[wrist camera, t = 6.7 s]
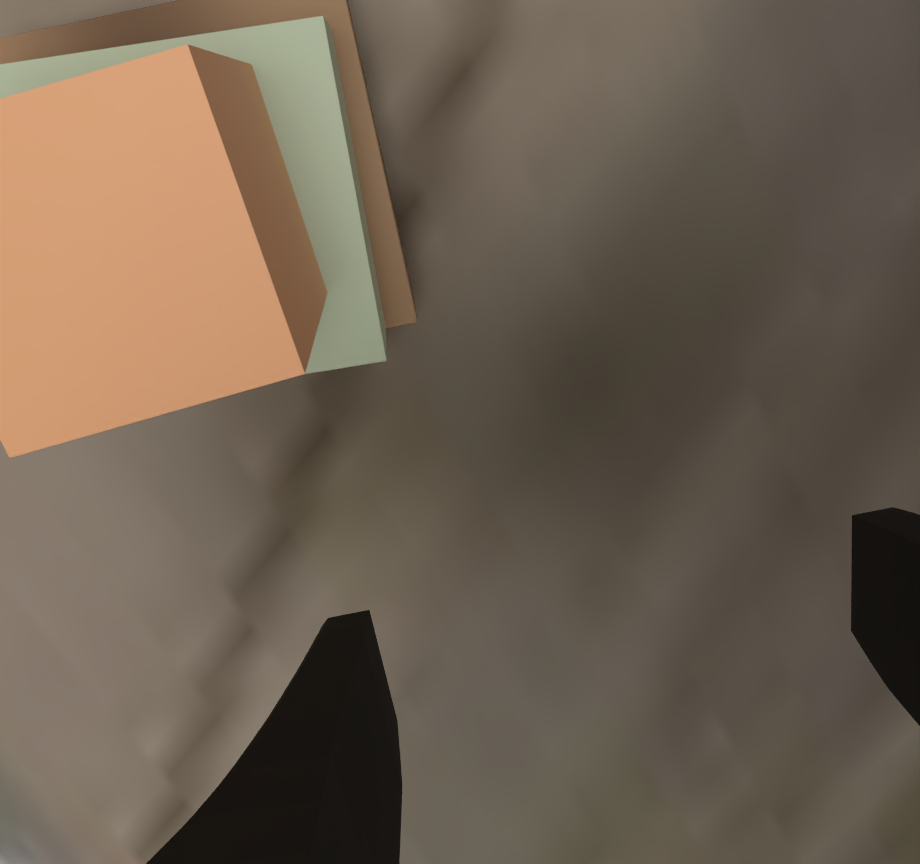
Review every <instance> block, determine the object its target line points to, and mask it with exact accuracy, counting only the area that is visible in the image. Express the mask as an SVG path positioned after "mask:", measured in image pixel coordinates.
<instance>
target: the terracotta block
mask: <svg viewBox="0 0 920 864" xmlns="http://www.w3.org/2000/svg"><path fill="white" fill-rule="evenodd" d="M327 293H328V292H327V289H326V286H325V283H324V280H323V277H322V274H321V271H320V268H319V265H318V262H317V259H316V256H315V253H314V250H313V247H312V244H311V241H310V238H309V235H308V232H307V229H306V226H305V223H304V220H303V217H302V214H301V211H300V208H299V205H298V202H297V199H296V196H295V193H294V190H293V187H292V184H291V181H290V178H289V175H288V172H287V169H286V166H285V163H284V160H283V157H282V154H281V151H280V148H279V145H278V142H277V139H276V136H275V133H274V130H273V127H272V124H271V121H270V118H269V115H268V112H267V109H266V106H265V103H264V100H263V97H262V94H261V91H260V88H259V85H258V82H257V79H256V76H255V73H254V70H253V66H252V64H249V63H246V62H242V61H239V60H236V59H233V58H230V57H227V56H223V55H220V54H217V53H214V52H211V51H207V50H204V49H201V48H198V47H195V46H192V45H188V44H187V45H183V46H180V47H176V48H173V49H169V50H166V51H162V52H159V53H156V54H152V55H149V56H145V57H142V58H138V59H135V60H131V61H128V62H125V63H121V64H118V65H114V66H111V67H107V68H104V69H100V70H97V71H94V72H90V73H87V74H83V75H80V76H76V77H73V78H69V79H66V80H63V81H59V82H56V83H52V84H49V85H45V86H42V87H38V88H35V89H32V90H28V91H25V92H21V93H18V94H14V95H11V96H7V97H4V98H1V99H0V440H1V442H2V444H3V446H4V448H5V450H6V452H7V454H8V455H9V457H14V456H18V455H21V454H25V453H28V452H32V451H35V450H39V449H42V448H46V447H49V446H53V445H56V444H60V443H63V442H67V441H70V440H74V439H77V438H81V437H84V436H88V435H92V434H95V433H99V432H102V431H106V430H109V429H113V428H116V427H120V426H123V425H127V424H130V423H134V422H137V421H141V420H144V419H148V418H151V417H155V416H158V415H162V414H166V413H169V412H173V411H176V410H180V409H183V408H187V407H190V406H194V405H197V404H201V403H204V402H208V401H211V400H215V399H218V398H222V397H225V396H229V395H232V394H236V393H240V392H243V391H247V390H250V389H254V388H257V387H261V386H264V385H268V384H271V383H275V382H278V381H282V380H285V379H289V378H292V377H296V376H299V375H303V374H305V372H306V369H307V365H308V361H309V358H310V354H311V351H312V347H313V343H314V340H315V336H316V333H317V329H318V326H319V322H320V318H321V315H322V311H323V308H324V304H325V301H326V297H327Z"/></svg>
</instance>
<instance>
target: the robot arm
mask: <svg viewBox="0 0 920 864" xmlns="http://www.w3.org/2000/svg"><path fill="white" fill-rule="evenodd" d="M851 631H852V633H853V634H854V636H855V638H856V639H857V641H858V643H859V644H860V646H861V647H862V649H863V651H864V652H865V654H866V655H867V657H868V659H869V660H870V662H871V663H872V665H873V666H874V668H875V669H876V671H877V672H878V674H879V675H880V677H881V678H882V680H883V681H884V683H885V684H886V686H887V687H888V689H889V690H890V691H891V692H892V693H893V695H894V696H895V697H896V698H897V700H898V701H899V702H900V703H901V704H902V706H903V707H904V708H905V709H906V710H907V711H908V713H909V714H910V715H911V716H912V717H913V719H914V720H915V721H916V722H917V723H918V724H919V726H920V515H918V514H915V513H912V512H908V511H905V510H901V509H897V508H893V507H892V508H887V509H882V510H877V511H872V512H867V513H862V514H857V515H852V592H851ZM401 806H402V775H401V761H400V748H399V736H398V724H397V718H396V714H395V710H394V706H393V702H392V698H391V694H390V690H389V686H388V682H387V678H386V674H385V670H384V666H383V662H382V659H381V655H380V651H379V647H378V643H377V639H376V635H375V631H374V627H373V623H372V619H371V615H370V611H369V610H367V611H361V612H356V613H351V614H346V615H341V616H336V617H331V618H328V619H327V620H326V622H325V623H324V624H323V626H322V627H321V629H320V631H319V633H318V635H317V636H316V638H315V640H314V642H313V644H312V645H311V647H310V649H309V651H308V653H307V654H306V656H305V658H304V660H303V661H302V663H301V665H300V666H299V668H298V670H297V672H296V673H295V675H294V677H293V678H292V680H291V682H290V683H289V685H288V687H287V688H286V690H285V691H284V693H283V695H282V696H281V698H280V699H279V701H278V703H277V704H276V706H275V707H274V709H273V711H272V712H271V714H270V715H269V717H268V718H267V720H266V721H265V723H264V724H263V726H262V727H261V729H260V730H259V731H258V733H257V734H256V736H255V737H254V738H253V740H252V741H251V743H250V744H249V746H248V747H247V748H246V750H245V751H244V753H243V754H242V755H241V757H240V758H239V760H238V761H237V762H236V764H235V765H234V766H233V768H232V769H231V770H230V772H229V773H228V774H227V776H226V777H225V778H224V779H223V781H222V782H221V783H220V785H219V786H218V787H217V788H216V789H215V791H214V792H213V793H212V794H211V795H210V797H209V798H208V799H207V800H206V801H205V802H204V803H203V805H202V806H201V807H200V808H199V809H198V810H197V812H196V813H195V814H194V815H193V816H192V817H191V818H190V819H189V821H188V822H187V823H186V824H185V825H184V826H183V827H182V828H181V829H180V830H179V831H178V832H177V833H176V834H175V835H174V836H173V837H172V838H171V839H170V840H169V841H168V842H167V843H166V844H165V845H164V846H163V847H162V848H161V849H160V850H159V851H158V852H157V853H156V854H155V855H154V856H153V857H152V858H151V859H150V860H149V861H148V862H147V863H146V864H399V856H400V832H401Z"/></svg>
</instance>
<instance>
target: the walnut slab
mask: <svg viewBox="0 0 920 864" xmlns="http://www.w3.org/2000/svg"><path fill="white" fill-rule="evenodd" d="M318 16H324V18H325V19H326V21H327V22H328V24H329V25H330V27H331V28H332V33H333V38H334V44H335V49H336V55H337V60H338V66H339V71H340V77H341V83H342V88H343V94H344V99H345V105H346V110H347V116H348V121H349V127H350V132H351V138H352V143H353V149H354V154H355V160H356V165H357V171H358V176H359V182H360V187H361V193H362V198H363V204H364V209H365V215H366V220H367V226H368V232H369V237H370V243H371V248H372V254H373V259H374V265H375V270H376V276H377V281H378V287H379V292H380V298H381V303H382V309H383V314H384V320H385V325H386V328H391V327H396V326H400V325H405V324H409V323H414V322H417V317H416V311H415V304H414V298H413V293H412V289H411V284H410V280H409V275H408V271H407V266H406V262H405V257H404V253H403V248H402V244H401V239H400V235H399V230H398V226H397V221H396V217H395V212H394V208H393V203H392V199H391V194H390V190H389V185H388V181H387V176H386V171H385V167H384V162H383V158H382V153H381V149H380V144H379V140H378V135H377V131H376V126H375V122H374V117H373V113H372V108H371V104H370V99H369V95H368V90H367V86H366V81H365V77H364V72H363V68H362V63H361V59H360V54H359V50H358V45H357V40H356V36H355V31H354V27H353V22H352V18H351V13H350V9H349V4H348V0H178V1H173V2H168V3H164V4H159V5H154V6H149V7H145V8H140V9H135V10H130V11H126V12H121V13H116V14H112V15H107V16H102V17H97V18H93V19H88V20H83V21H78V22H74V23H69V24H64V25H60V26H55V27H50V28H45V29H41V30H36V31H31V32H26V33H22V34H17V35H12V36H7V37H3V38H0V64H7V63H13V62H20V61H27V60H33V59H40V58H46V57H53V56H60V55H66V54H73V53H80V52H86V51H93V50H100V49H106V48H113V47H119V46H126V45H133V44H139V43H146V42H153V41H159V40H166V39H172V38H179V37H186V36H192V35H199V34H206V33H212V32H219V31H226V30H232V29H239V28H245V27H252V26H259V25H265V24H272V23H279V22H285V21H292V20H298V19H305V18H312V17H318Z"/></svg>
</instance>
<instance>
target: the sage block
mask: <svg viewBox="0 0 920 864" xmlns="http://www.w3.org/2000/svg"><path fill="white" fill-rule="evenodd" d="M187 44H188V45H192V46H195V47H198V48H201V49H204V50H207V51H211V52H214V53H217V54H220V55H223V56H227V57H230V58H233V59H236V60H239V61H242V62H246V63H249V64H252V66H253V70H254V73H255V76H256V79H257V82H258V85H259V88H260V91H261V94H262V97H263V100H264V103H265V106H266V109H267V112H268V115H269V118H270V121H271V124H272V127H273V130H274V133H275V136H276V139H277V142H278V145H279V148H280V151H281V154H282V157H283V160H284V163H285V166H286V169H287V172H288V175H289V178H290V181H291V184H292V187H293V190H294V193H295V196H296V199H297V202H298V205H299V208H300V211H301V214H302V217H303V220H304V223H305V226H306V229H307V232H308V235H309V238H310V241H311V244H312V247H313V250H314V253H315V256H316V259H317V262H318V265H319V268H320V271H321V274H322V277H323V280H324V283H325V286H326V289H327V292H328V293H327V297H326V301H325V304H324V308H323V311H322V315H321V318H320V322H319V326H318V329H317V333H316V336H315V340H314V343H313V347H312V351H311V354H310V358H309V361H308V365H307V369H306V372H305V374H309V373H315V372H321V371H327V370H334V369H340V368H346V367H352V366H358V365H364V364H370V363H377V362H383V361H387V358H386V325H385V320H384V314H383V309H382V303H381V298H380V292H379V287H378V281H377V276H376V270H375V265H374V259H373V254H372V248H371V243H370V237H369V232H368V226H367V220H366V215H365V209H364V204H363V198H362V193H361V187H360V182H359V176H358V171H357V165H356V160H355V154H354V149H353V143H352V138H351V132H350V127H349V121H348V116H347V110H346V105H345V99H344V94H343V88H342V83H341V77H340V71H339V66H338V60H337V55H336V49H335V44H334V38H333V33H332V28H331V27H330V25H329V24H328V22H327V21H326V19H325V18H324V16H318V17H312V18H305V19H298V20H292V21H285V22H279V23H272V24H265V25H259V26H252V27H245V28H239V29H232V30H226V31H219V32H212V33H206V34H199V35H192V36H186V37H179V38H172V39H166V40H159V41H153V42H146V43H139V44H133V45H126V46H119V47H113V48H106V49H100V50H93V51H86V52H80V53H73V54H66V55H60V56H53V57H46V58H40V59H33V60H27V61H20V62H13V63H7V64H0V99H1V98H4V97H7V96H11V95H14V94H18V93H21V92H25V91H28V90H32V89H35V88H38V87H42V86H45V85H49V84H52V83H56V82H59V81H63V80H66V79H69V78H73V77H76V76H80V75H83V74H87V73H90V72H94V71H97V70H100V69H104V68H107V67H111V66H114V65H118V64H121V63H125V62H128V61H131V60H135V59H138V58H142V57H145V56H149V55H152V54H156V53H159V52H162V51H166V50H169V49H173V48H176V47H180V46H183V45H187Z"/></svg>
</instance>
